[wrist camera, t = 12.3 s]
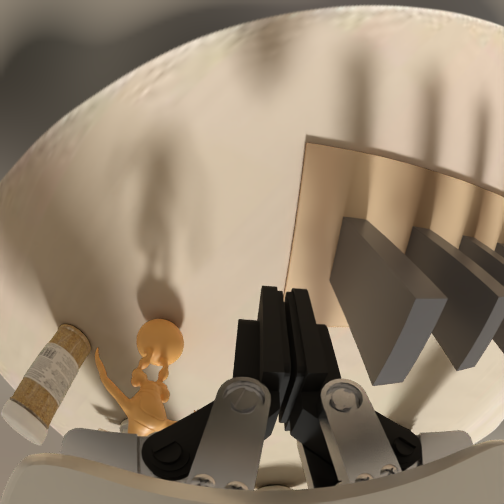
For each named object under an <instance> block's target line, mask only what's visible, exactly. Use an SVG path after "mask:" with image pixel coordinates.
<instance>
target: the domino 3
mask: <svg viewBox="0 0 504 504" xmlns="http://www.w3.org/2000/svg"><path fill="white" fill-rule="evenodd" d="M458 250H460V251H461V252H462V253H464V254H465V255H466V256H467V257H469V258H470V259H471V260H473V261H474V262H475V263H476V264H478V265H479V266H480V267H481V268H482V269H484V270H485V271H486V272H487V273H488V274H490V275H491V276H492V277H493V278H494V279H495V280H497V281H498V282H499V283H500V284H501V285H502V286H503V287H504V258H503V257H502V256H500V255H499V254H498V253H496V252H495V251H493V250H492V249H491V248H489V247H488V246H486V245H485V244H483V243H482V242H480V241H479V240H477V239H476V238H474V237H470V236H465V235H463V236H462V239H461V243H460V246H459V249H458ZM492 339H493V340H494V342H495V343H496V344H497V345H498V347H499V348H500V349H501V350H502V352H503V353H504V318H503V320H502V322H501V324H500V326H499V328H498V329H497V331H496V333H495V335H494V336H493V338H492Z"/></svg>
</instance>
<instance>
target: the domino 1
mask: <svg viewBox="0 0 504 504" xmlns="http://www.w3.org/2000/svg"><path fill="white" fill-rule="evenodd" d="M329 281H330V283H331V286H332V288H333V290H334V292H335V295H336V297H337V299H338V302H339V304H340V306H341V308H342V311H343V313H344V315H345V318H346V320H347V323H348V325H349V327H350V330H351V332H352V335H353V337H354V340H355V342H356V344H357V347H358V349H359V352H360V355H361V357H362V360H363V362H364V365H365V367H366V370H367V373H368V375H369V378H370V381H371V383H372V386H377V385H385V384H393V383H400V382H403V381H404V379H405V378H406V376H407V375H408V373H409V371H410V370H411V368H412V367H413V365H414V363H415V362H416V360H417V358H418V357H419V355H420V353H421V351H422V350H423V348H424V346H425V344H426V342H427V340H428V339H429V337H430V335H431V333H432V331H433V329H434V327H435V325H436V323H437V321H438V319H439V317H440V315H441V313H442V310H443V308H444V306H445V304H446V302H447V299H448V298H447V297H446V296H445V295H444V294H443V293H442V292H441V291H440V289H439V288H438V287H437V286H436V285H435V284H434V283H433V282H432V281H431V280H430V279H429V278H428V277H427V276H426V275H425V274H424V273H423V272H422V271H421V270H420V269H419V268H418V267H417V266H416V265H415V264H414V263H413V262H412V261H411V260H410V259H409V258H408V257H407V256H406V255H405V254H404V253H403V252H402V251H401V250H400V249H399V248H398V247H396V246H395V245H394V244H393V243H392V242H391V241H390V240H389V239H388V238H387V237H386V236H385V235H383V234H382V233H381V232H380V231H379V230H378V229H377V228H376V227H374V226H373V225H372V224H371V223H370V222H369V221H368V220H366V219H359V218H351V217H344V216H343V219H342V225H341V230H340V235H339V239H338V244H337V249H336V253H335V258H334V262H333V267H332V271H331V275H330V279H329Z"/></svg>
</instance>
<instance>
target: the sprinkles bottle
mask: <svg viewBox="0 0 504 504" xmlns="http://www.w3.org/2000/svg"><path fill="white" fill-rule="evenodd" d="M90 351H91V346H90V344H89V341H88V339H87V338H86V336H85V335H84V334H83V333H82V332H81V331H80V330H78V329H77V328H75V327H74V326H71V325H67V324H63V325H61V326H60V327H59V328H58V331H57V332H56V334H55V335H54V336H53V338H52V339H51V340H50V341H49V343H47V344H46V345H45V347H44V348H43V350H42V351H41V352H40V354H39V355H38V356H37V358H36V359H35V361H34V362H33V363H32V365H31V366H30V368H29V369H28V371H27V372H26V374H25V375H24V377H23V380H22V381H21V383H20V384H19V386H18V388H17V389H16V391H15V392H14V395H13V396H12V397H10V400H7V402H6V404H5V405H4V407H3V409H2V411H1V415H2V417H3V419H4V420H5V421H6V422H7V423H8V424H9V425H10V426H11V427H12V428H13V429H14V430H15V431H17V432H18V433H19V434H20V435H22V436H23V437H24V438H26V439H27V440H29V441H30V442H32V443H34V444H36V445H42V444H43V442H44V440H45V438H46V435H47V433H48V431H47V429H48V428H49V427H48V426H49V424H50V422H51V420H52V418H53V416H54V414H55V412H56V410H57V409H58V407H59V406H60V404H61V403H62V401H63V399H64V397H65V395H66V393H67V391H68V389H69V388H70V386H71V384H72V382H73V380H74V379H75V377H76V375H77V373H78V371H79V368H80V367H81V365H82V363H83V362H84V360H85V358H86V356H88V355H89V354H90Z"/></svg>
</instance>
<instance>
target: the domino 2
mask: <svg viewBox="0 0 504 504" xmlns="http://www.w3.org/2000/svg"><path fill="white" fill-rule="evenodd" d="M405 255H406V256H407V257H408V258H409V259H410V260H411V261H412V262H413V263H414V264H415V265H416V266H417V267H418V268H419V269H420V270H421V271H422V272H423V273H424V274H425V275H426V276H427V277H428V278H429V279H430V280H431V281H432V282H433V283H434V284H435V285H436V286H437V287H438V288H439V289H440V291H441V292H442V293H443V294H444V295H445V296H446V297H447V298H448V299H447V302H446V304H445V306H444V308H443V310H442V313H441V315H440V317H439V319H438V321H437V323H436V325H435V327H434V329H433V331H432V334H433V335H434V337H435V338H436V340H437V341H438V343H439V344H440V346H441V347H442V349H443V350H444V352H445V353H446V355H447V356H448V358H449V360H450V361H451V363H452V364H453V366H454V368H455V369H456V371H459V370H463V369H467V368H471V367H475V365H476V364H477V362H478V361H479V359H480V358H481V356H482V354H483V353H484V351H485V350H486V348H487V347H488V345H489V343H490V342H491V340H492V338H493V336H494V335H495V333H496V331H497V329H498V328H499V326H500V324H501V322H502V320H503V318H504V287H503V286H502V285H501V284H500V283H499V282H498V281H497V280H495V279H494V278H493V277H492V276H491V275H490V274H488V273H487V272H486V271H485V270H484V269H482V268H481V267H480V266H479V265H478V264H476V263H475V262H474V261H473V260H471V259H470V258H469V257H467V256H466V255H465V254H464V253H462V252H461V251H460V250H458V249H457V248H456V247H454V246H453V245H452V244H450V243H449V242H447V241H446V240H445V239H443V238H442V237H441V236H439V235H438V234H436V233H435V232H433V231H432V230H430V229H427V228H421V227H415V226H413V227H412V231H411V235H410V239H409V242H408V246H407V249H406V252H405Z"/></svg>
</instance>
